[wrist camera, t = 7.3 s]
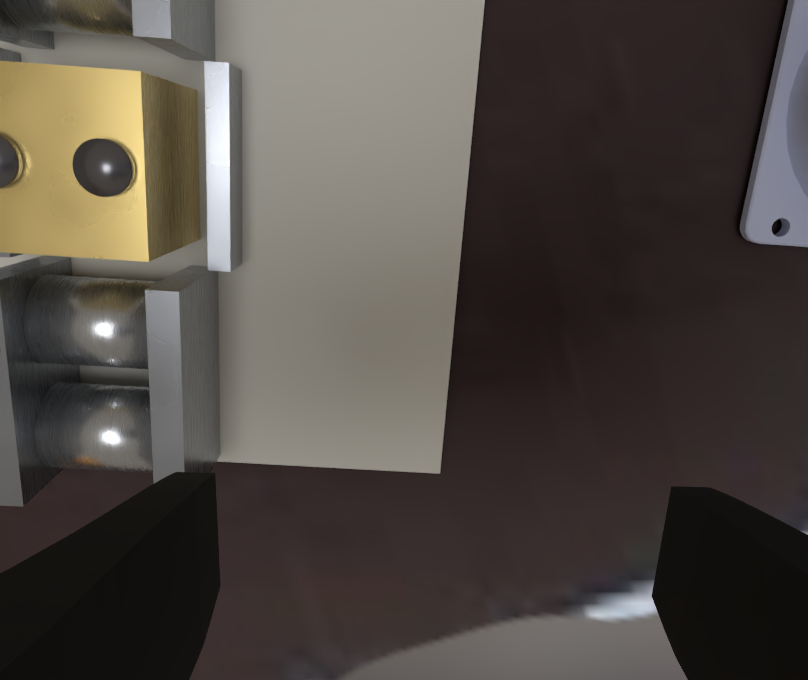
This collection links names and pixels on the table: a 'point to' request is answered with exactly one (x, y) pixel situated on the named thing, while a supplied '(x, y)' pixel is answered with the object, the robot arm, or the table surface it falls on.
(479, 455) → the table surface
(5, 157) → the tan knob cube
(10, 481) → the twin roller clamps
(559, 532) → the table surface
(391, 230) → the mat
